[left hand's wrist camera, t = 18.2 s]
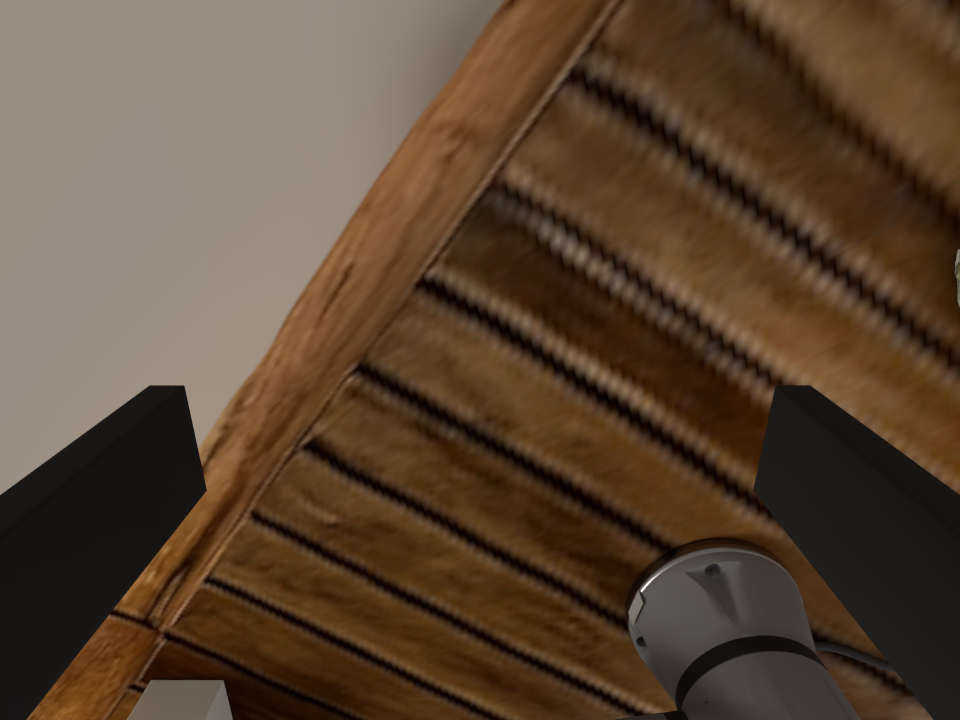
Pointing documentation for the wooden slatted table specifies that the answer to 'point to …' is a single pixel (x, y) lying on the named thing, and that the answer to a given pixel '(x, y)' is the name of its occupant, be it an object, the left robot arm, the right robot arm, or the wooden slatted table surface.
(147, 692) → the block
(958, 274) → the fossil
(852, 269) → the wooden slatted table surface
